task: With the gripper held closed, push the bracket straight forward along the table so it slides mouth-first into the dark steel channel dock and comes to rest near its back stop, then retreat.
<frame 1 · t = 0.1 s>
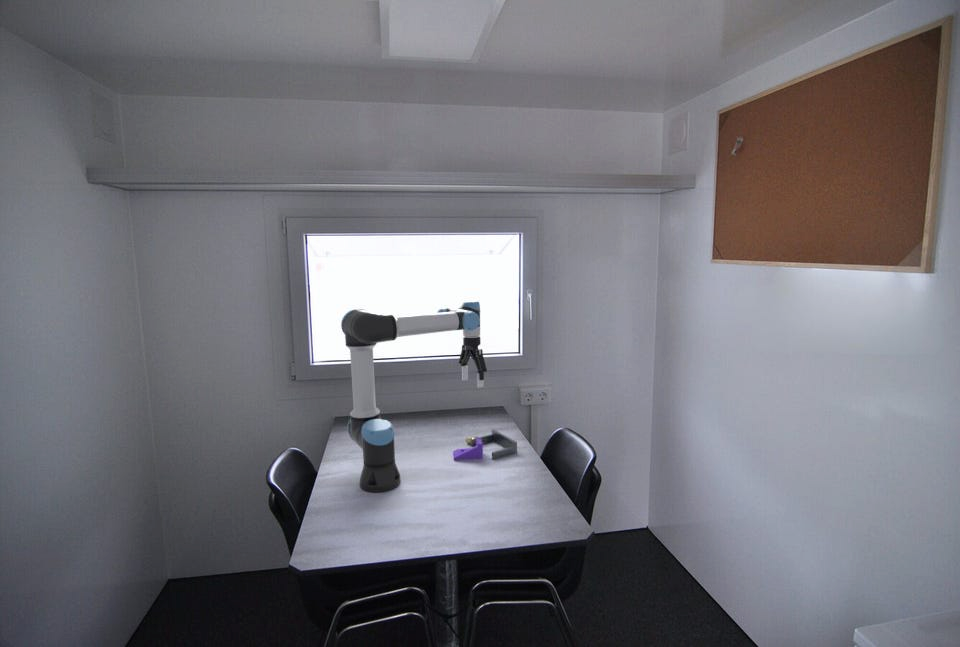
hand: (472, 383, 226), 28 cm above the table, fingers open, 13 cm apart
dock: (492, 449, 223), on the table
brass key: (473, 442, 232), on the table
bracket: (467, 457, 217), on the table
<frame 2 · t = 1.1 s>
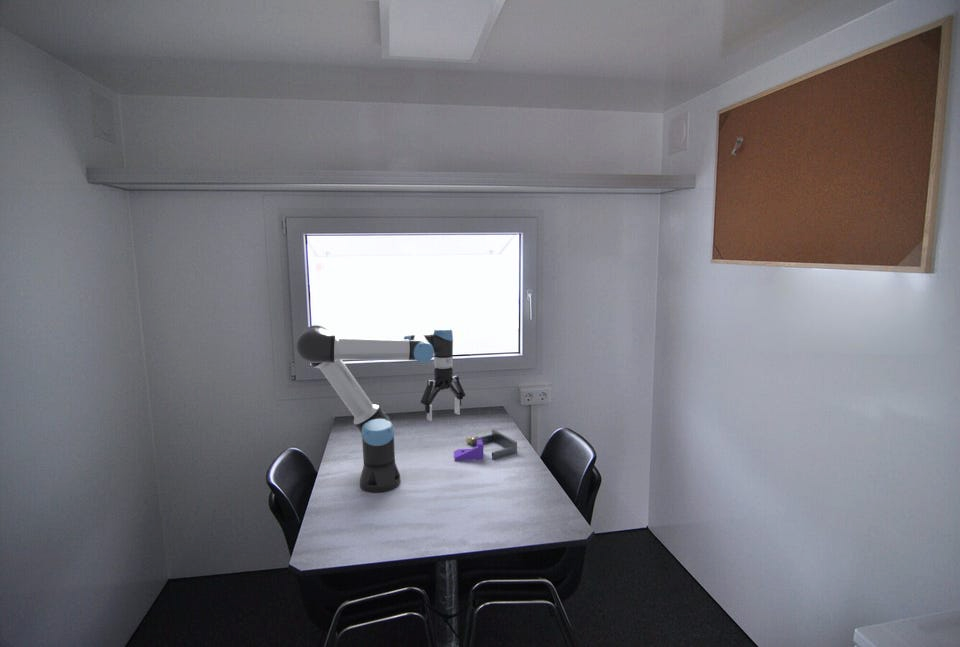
hand: (443, 417, 210), 19 cm above the table, fingers open, 13 cm apart
nothing on the table moved.
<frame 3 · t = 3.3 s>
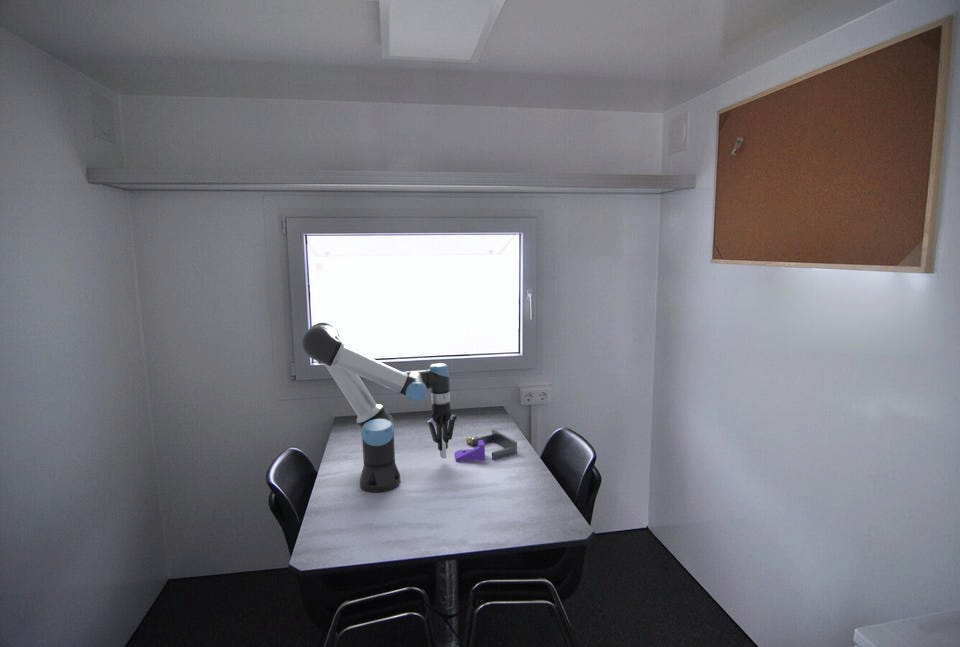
hand: (443, 456, 210), 3 cm above the table, fingers closed
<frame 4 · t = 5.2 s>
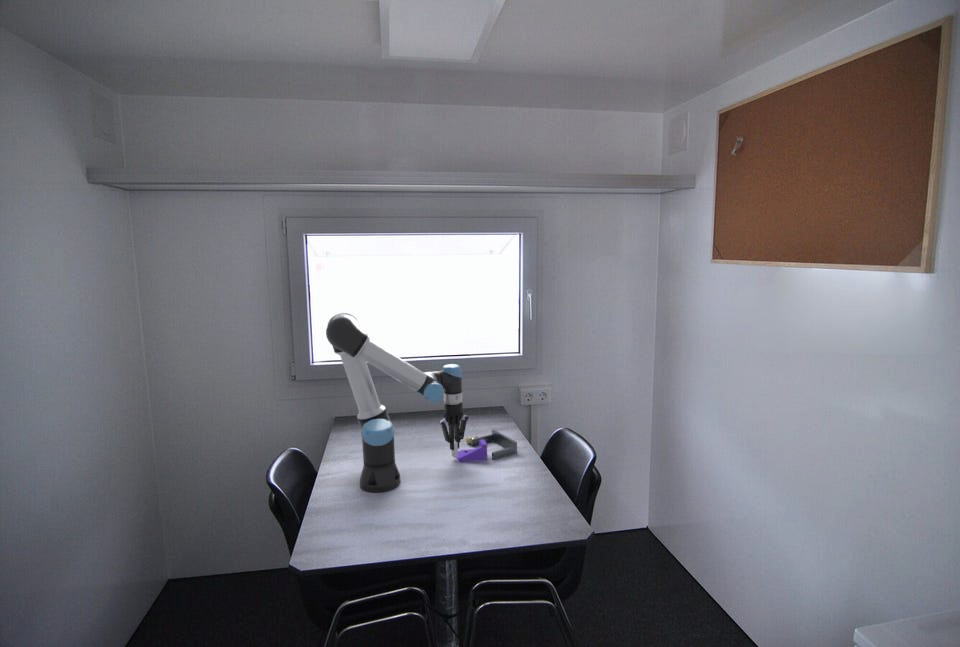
hand: (454, 456, 213), 1 cm above the table, fingers closed
bracket: (471, 458, 216), on the table, touching gripper
everything else where it was.
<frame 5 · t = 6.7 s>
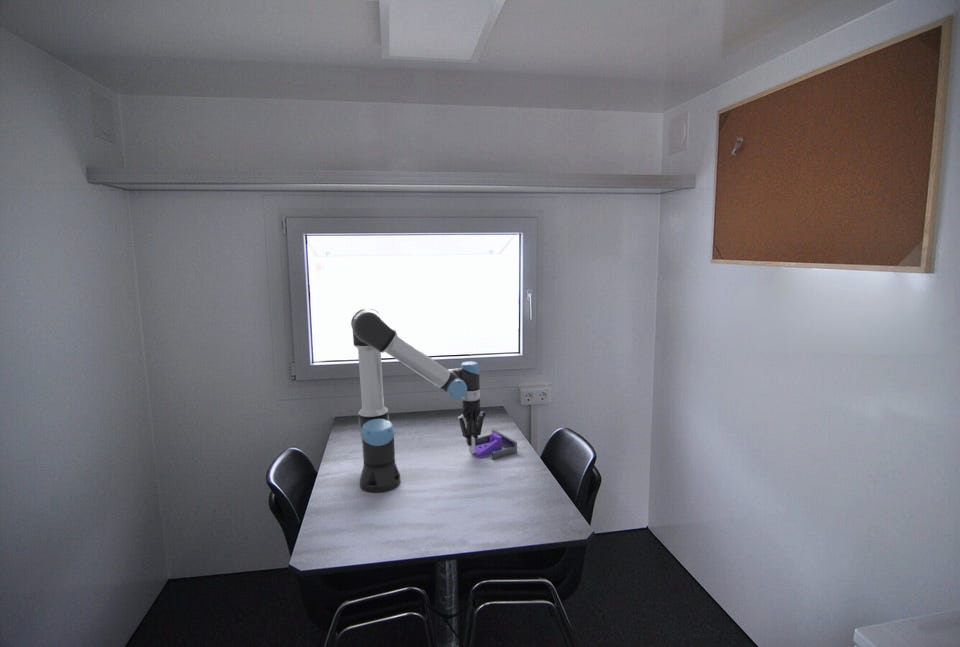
hand: (472, 452, 218), 1 cm above the table, fingers closed
bracket: (486, 452, 221), on the table
everything else where it was.
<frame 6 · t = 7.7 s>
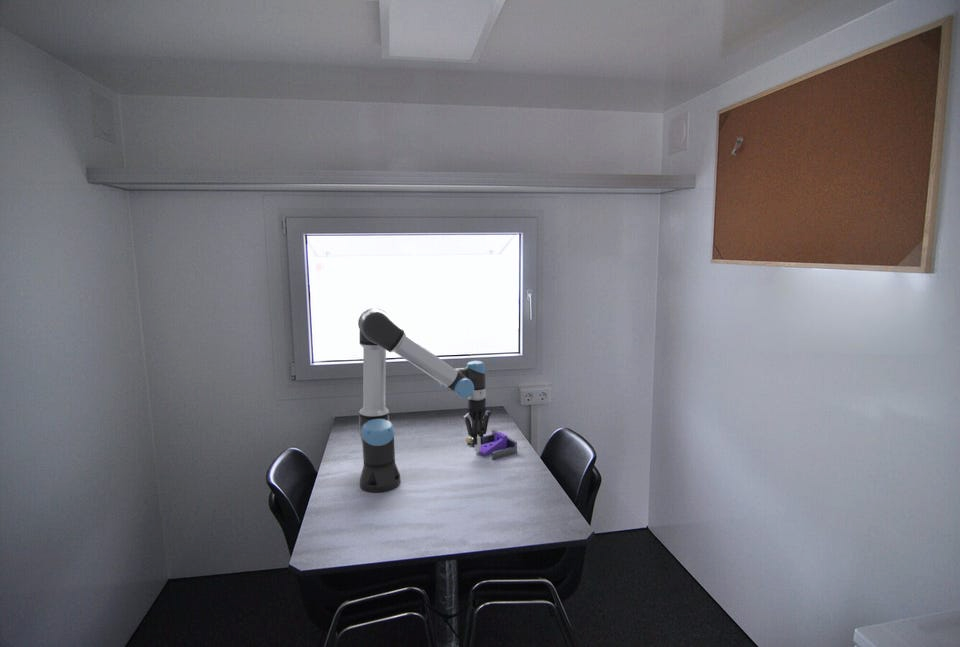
hand: (477, 450, 219), 1 cm above the table, fingers closed
bracket: (491, 451, 223), on the table
everything else where it was.
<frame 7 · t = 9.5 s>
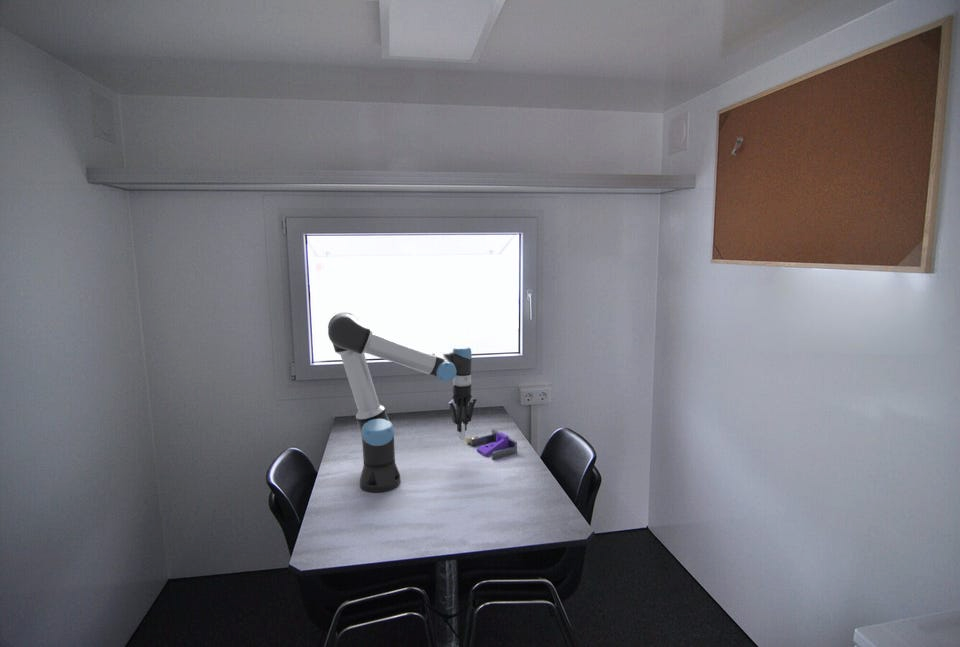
hand: (461, 438, 214), 8 cm above the table, fingers closed
bracket: (492, 452, 222), on the table, touching dock
everything else where it was.
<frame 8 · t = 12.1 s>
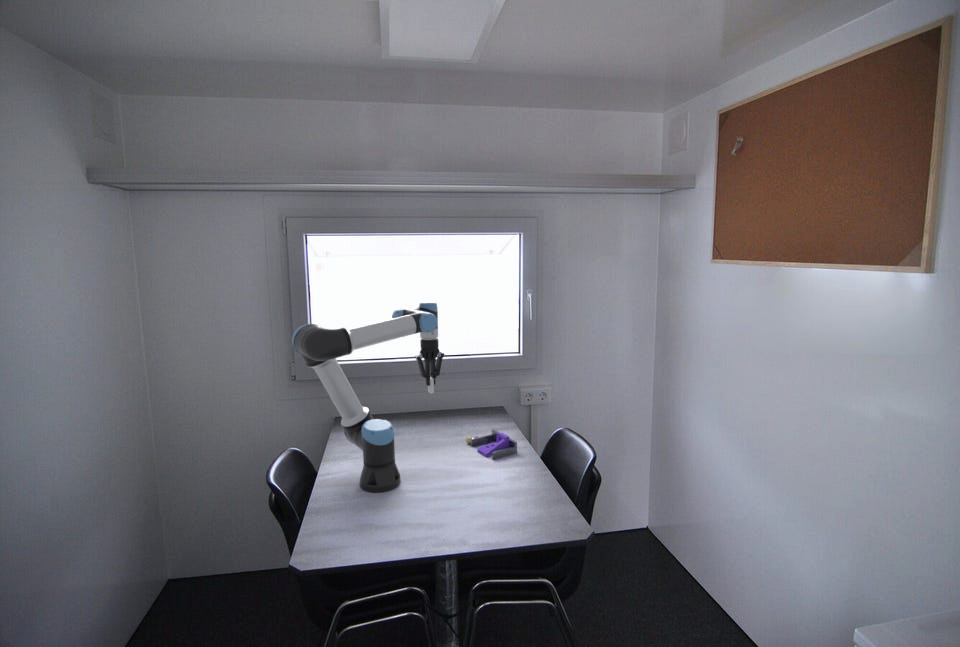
hand: (431, 392, 218), 26 cm above the table, fingers closed
bracket: (493, 452, 222), on the table
everything else where it was.
at the end: bracket inside the target area (1.7 cm from its centre), on the table; bracket moved 12.1 cm from its start; brass key moved 0.0 cm from its start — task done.
